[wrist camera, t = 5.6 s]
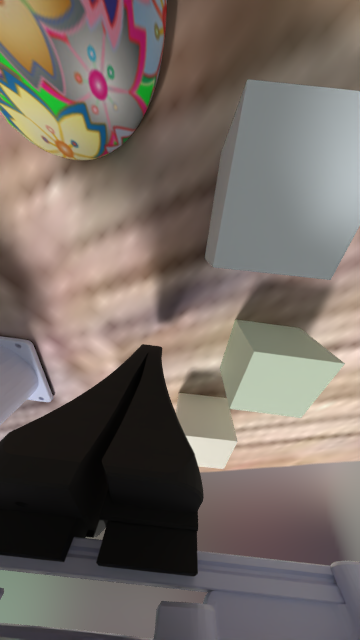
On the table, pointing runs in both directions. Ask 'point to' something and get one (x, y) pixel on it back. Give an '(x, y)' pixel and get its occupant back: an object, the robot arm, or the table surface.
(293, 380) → the block sage
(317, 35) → the table surface
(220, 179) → the block bluegrey
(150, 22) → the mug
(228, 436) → the block cream
